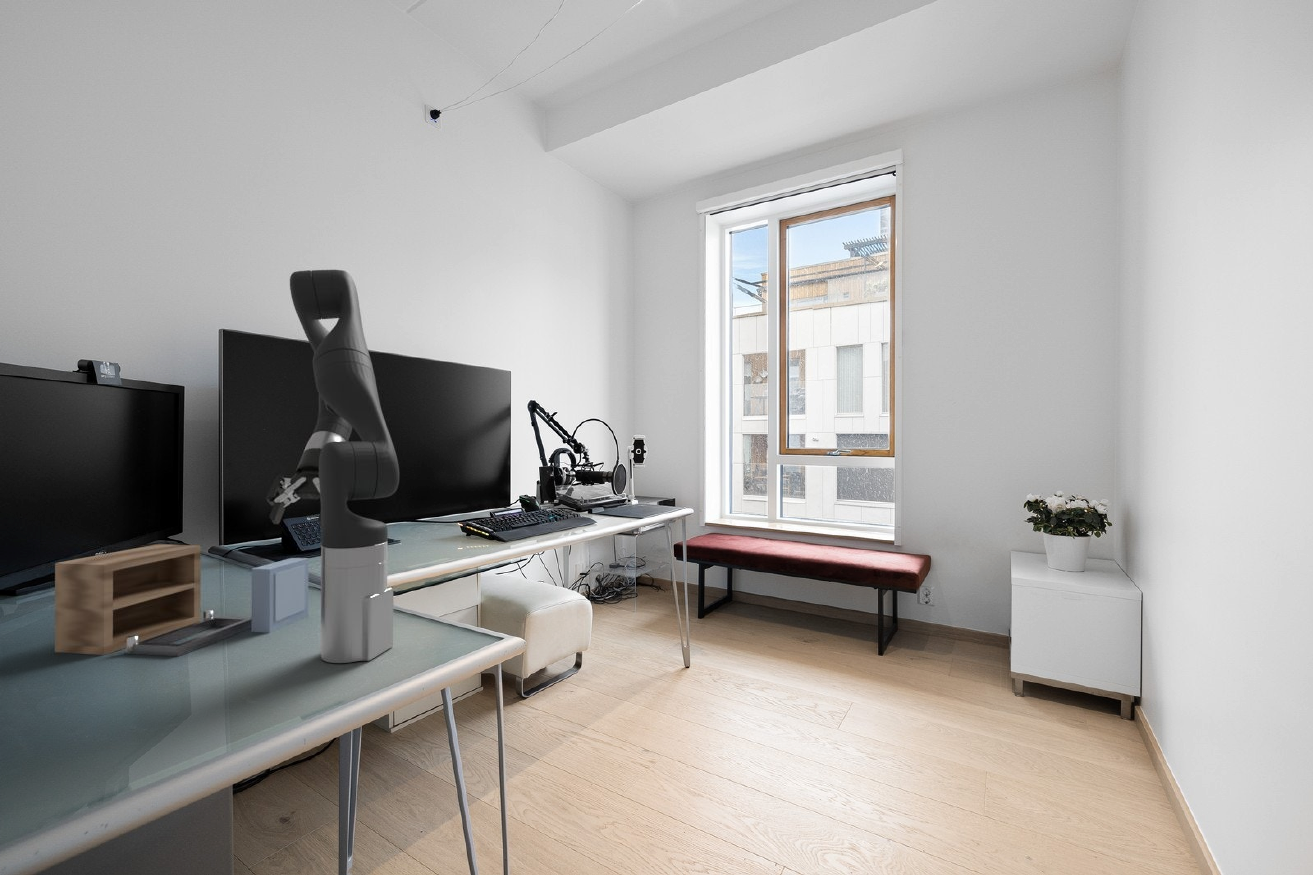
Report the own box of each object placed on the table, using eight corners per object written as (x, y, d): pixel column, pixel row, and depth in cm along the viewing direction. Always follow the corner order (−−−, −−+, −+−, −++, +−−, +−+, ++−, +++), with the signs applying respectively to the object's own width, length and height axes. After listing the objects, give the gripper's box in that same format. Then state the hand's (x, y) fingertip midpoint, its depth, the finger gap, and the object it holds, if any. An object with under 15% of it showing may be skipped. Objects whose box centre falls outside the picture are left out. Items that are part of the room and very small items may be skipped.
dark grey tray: (255, 625, 101) (255, 612, 101) (177, 656, 86) (177, 640, 86) (208, 623, 102) (208, 609, 102) (123, 653, 88) (123, 637, 88)
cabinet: (200, 621, 103) (200, 545, 103) (104, 654, 87) (104, 564, 87) (157, 619, 104) (157, 544, 104) (54, 652, 88) (55, 563, 88)
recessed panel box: (308, 616, 106) (309, 558, 106) (270, 632, 97) (270, 569, 97) (291, 615, 107) (291, 557, 107) (251, 631, 98) (251, 568, 98)
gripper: (280, 445, 118) (251, 512, 108) (353, 448, 120) (330, 514, 110) (293, 465, 124) (266, 531, 114) (362, 468, 126) (341, 532, 116)
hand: (298, 522), depth 112 cm, fingers open, 8 cm apart
